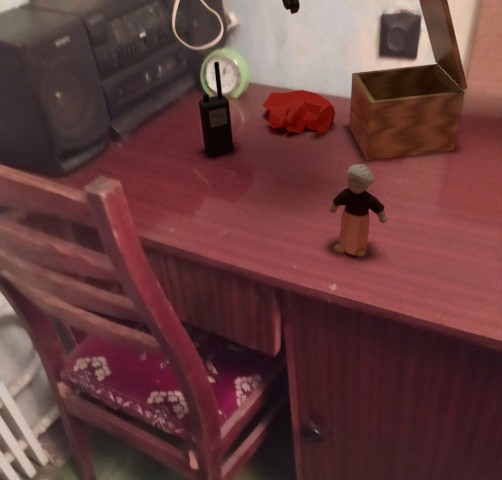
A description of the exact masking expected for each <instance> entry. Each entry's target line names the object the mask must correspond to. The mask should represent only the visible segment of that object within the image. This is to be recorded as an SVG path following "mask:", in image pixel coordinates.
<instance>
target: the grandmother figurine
mask: <svg viewBox="0 0 502 480" xmlns="http://www.w3.org/2000/svg"><path fill="white" fill-rule="evenodd" d="M346 178H347V186H348V187H346V188H344V189H343V190H342V191H341V192H339V193H338V194H337V195H336V196H335V197H334V198H333V199H332V202H331V204H330V205H329V207H328V208H329V209H328V212H329V213H331V214H335V213H336V212H337V211H338V209H339V208H340V206H344V208H343V210H342V214H341V221H340V229H339V237H338V243H337V244H335V245H334V247H333V250H334V251H336V252H338V253H347V254H349V255H352V256H355V257H363V256H365V255H366V252H367V247H368V246H367V245H368V239H369V235H370V211H371V212H373V213H374V214H375V215H376V216H377V217H378V221H379V223H381V224H385V223H387V222H388V218H387V215H386V211H385V208H386V207H385V205H384V204H383V203H382V202H381V200H379V199H378V198H377V197H376V196H374V195H373V194H371V193H370V192H369V191H367V189H369V187H370V186H372V185H373V183H374V181H376V179H375V177H374V175H373V172H372V171H371V169H369V168H368V167H367V165H365V164H362V163H361V164H358V163H356V164H355V163H354V164H352V165H350V166H349V167H348V169H347V172H346ZM369 210H370V211H369Z"/></svg>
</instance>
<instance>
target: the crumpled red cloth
mask: <svg viewBox="0 0 502 480" xmlns="http://www.w3.org/2000/svg"><path fill="white" fill-rule="evenodd" d="M262 107H263V108H264V109H266V110H267V111H268V112H269V113H268V120H267V123H268V125H269V124H270V126H271V128H272V129H278V128H285V130H286V131H287V132H289V133H293V132H294V133H297V134H300V133H303V131H304V130H305V129H307V130H310V131H317V133H318V135H322V134H323V133H326V132H328V131H329V130H330V126H331V123H332V121H334V119H335V117H336V110H335V107H334V105H333V104H332V103H331V101H330V100H329V99H326V98H325V97H324V96H322V95H320V94H319V93H316V92H312V91H309V90H305V89H300V90H294V91H293V90H292V91H288V92H273V91H271V92H270V94H268V96H267V98H266V99H265V100H264V102H263V103H262Z"/></svg>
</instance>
